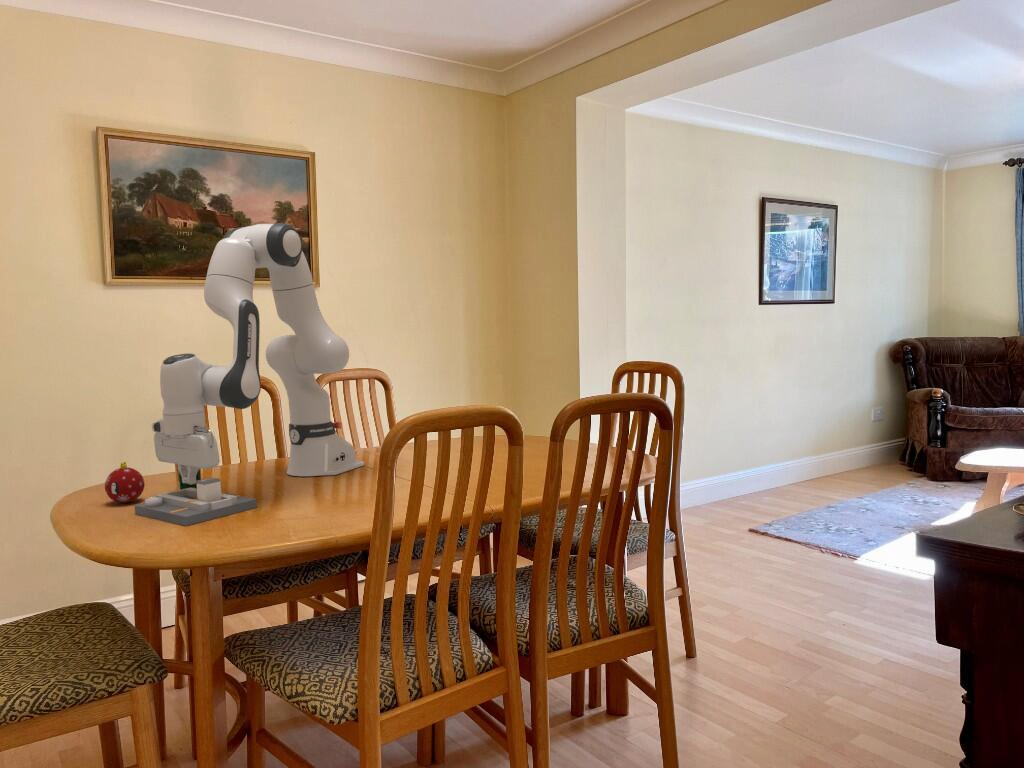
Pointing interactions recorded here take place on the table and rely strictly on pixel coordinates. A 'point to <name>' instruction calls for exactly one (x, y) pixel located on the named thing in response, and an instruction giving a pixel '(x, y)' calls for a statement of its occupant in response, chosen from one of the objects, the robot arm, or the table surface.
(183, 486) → the beer can
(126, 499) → the christmas ornament
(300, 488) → the table surface
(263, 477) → the table surface
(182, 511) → the console
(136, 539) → the table surface
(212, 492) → the fader tab
